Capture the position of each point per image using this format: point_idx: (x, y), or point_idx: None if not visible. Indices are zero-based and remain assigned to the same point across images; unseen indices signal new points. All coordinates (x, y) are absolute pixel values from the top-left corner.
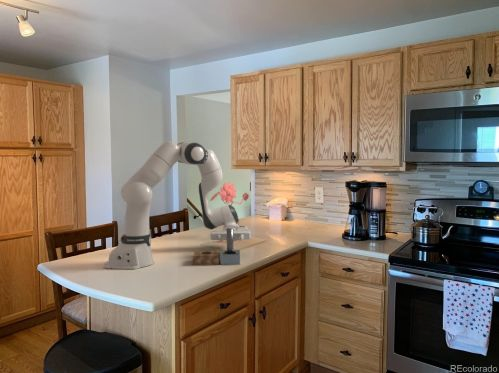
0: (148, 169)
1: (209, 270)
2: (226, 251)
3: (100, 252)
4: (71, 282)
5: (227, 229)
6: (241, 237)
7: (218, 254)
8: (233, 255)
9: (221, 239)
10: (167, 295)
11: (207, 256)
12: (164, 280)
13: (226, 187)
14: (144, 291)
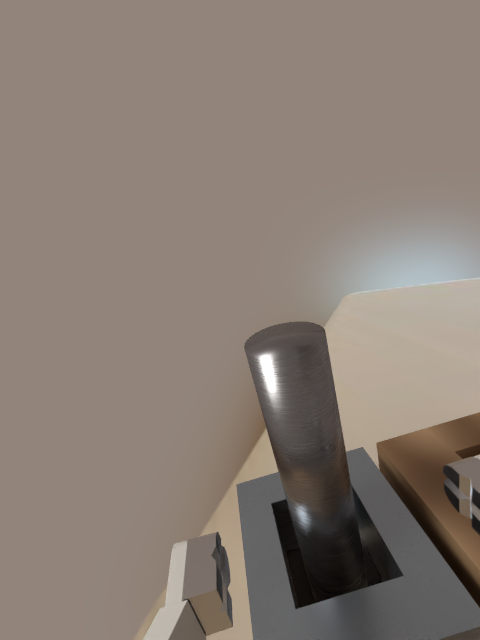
0: None
1: (364, 406)
2: (390, 580)
3: None
4: None
5: (301, 324)
6: (181, 547)
7: (388, 457)
8: (279, 475)
9: (452, 483)
10: (347, 304)
11: (445, 427)
12: (430, 324)
13: None
14: (405, 297)
